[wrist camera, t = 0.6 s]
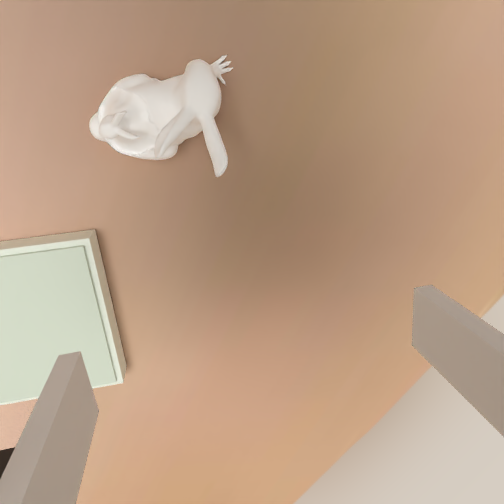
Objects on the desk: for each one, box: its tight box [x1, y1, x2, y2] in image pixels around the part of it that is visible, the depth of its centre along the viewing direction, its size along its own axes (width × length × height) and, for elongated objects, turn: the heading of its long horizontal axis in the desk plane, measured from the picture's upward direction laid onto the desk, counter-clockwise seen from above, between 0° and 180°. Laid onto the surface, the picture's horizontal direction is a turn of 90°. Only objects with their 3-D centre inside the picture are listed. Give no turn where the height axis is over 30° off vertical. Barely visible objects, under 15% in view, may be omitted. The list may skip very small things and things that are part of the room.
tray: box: [0, 229, 127, 405], centre depth 34 cm, size 14×16×3 cm
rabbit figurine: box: [89, 55, 234, 177], centre depth 28 cm, size 12×8×10 cm, turn 104°
